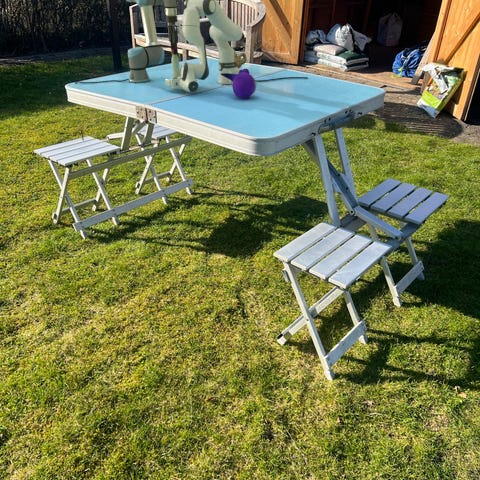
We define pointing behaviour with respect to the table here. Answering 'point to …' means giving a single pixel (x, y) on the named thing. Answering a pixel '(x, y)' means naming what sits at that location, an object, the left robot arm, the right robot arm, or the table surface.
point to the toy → (242, 83)
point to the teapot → (237, 59)
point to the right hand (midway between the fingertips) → (176, 79)
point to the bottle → (175, 66)
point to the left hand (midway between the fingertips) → (174, 54)
